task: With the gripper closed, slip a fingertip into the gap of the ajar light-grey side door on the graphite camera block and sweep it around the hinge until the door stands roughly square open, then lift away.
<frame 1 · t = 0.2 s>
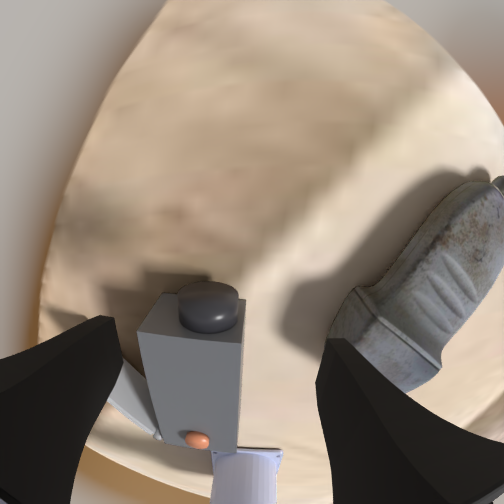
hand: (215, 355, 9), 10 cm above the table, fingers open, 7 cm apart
side door: (119, 383, 20), point 2 cm above the table, hinge at 40.0°
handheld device: (429, 267, 19), on the table
camera body: (205, 361, 21), on the table
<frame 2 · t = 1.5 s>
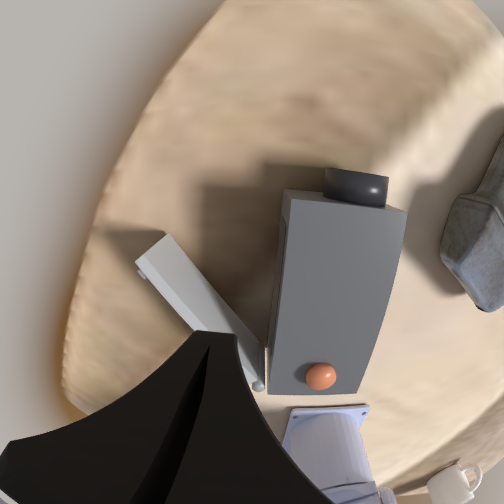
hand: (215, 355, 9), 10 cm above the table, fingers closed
side door: (208, 315, 17), point 3 cm above the table, hinge at 40.0°
mug: (449, 468, 32), on the table
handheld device: (503, 189, 17), on the table
camera body: (317, 280, 19), on the table
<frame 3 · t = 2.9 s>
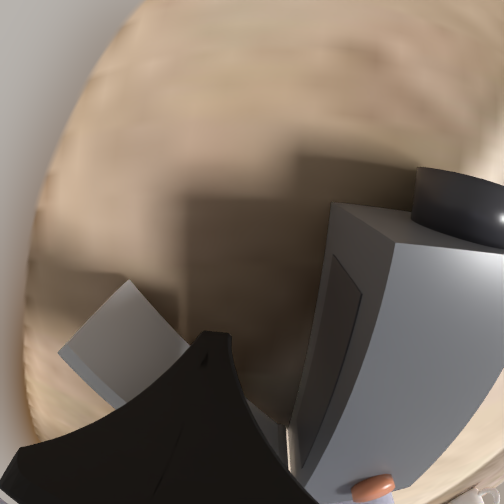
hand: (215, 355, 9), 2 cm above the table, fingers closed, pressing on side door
side door: (202, 414, 9), point 2 cm above the table, hinge at 40.3°, touching gripper
mug: (466, 492, 24), on the table
camera body: (372, 346, 11), on the table
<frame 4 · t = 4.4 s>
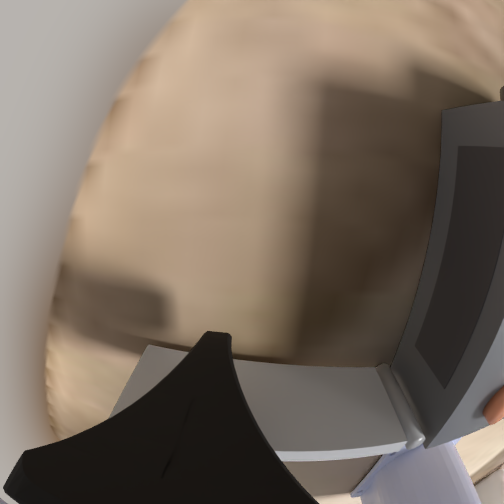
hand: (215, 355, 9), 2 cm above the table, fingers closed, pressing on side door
side door: (277, 409, 9), point 2 cm above the table, hinge at 86.3°, touching gripper
mug: (492, 473, 23), on the table
camera body: (472, 260, 10), on the table
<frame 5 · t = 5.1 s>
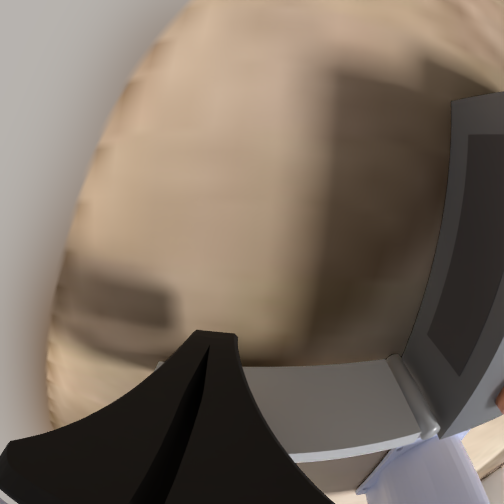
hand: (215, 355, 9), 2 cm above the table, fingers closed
side door: (288, 412, 9), point 3 cm above the table, hinge at 94.5°
mug: (494, 472, 23), on the table
camera body: (481, 250, 10), on the table
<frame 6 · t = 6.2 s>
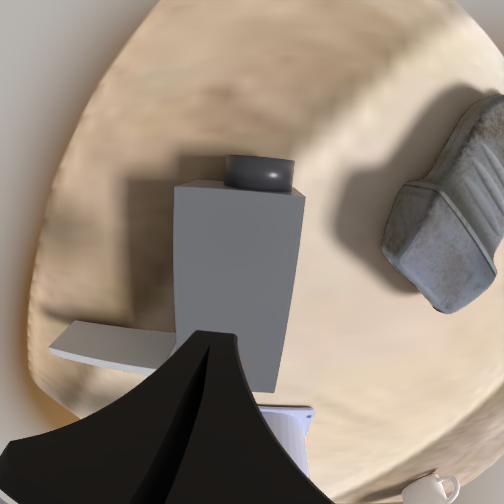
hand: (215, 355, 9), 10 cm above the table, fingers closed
side door: (117, 348, 19), point 2 cm above the table, hinge at 94.6°
mug: (426, 477, 32), on the table
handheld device: (466, 175, 17), on the table
camera body: (238, 272, 19), on the table
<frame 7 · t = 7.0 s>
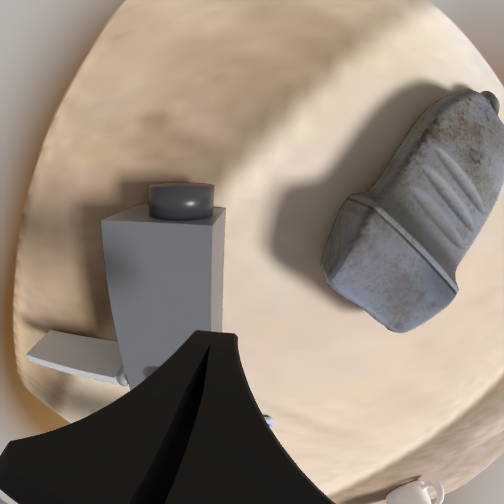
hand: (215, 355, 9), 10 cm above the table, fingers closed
side door: (83, 356, 19), point 3 cm above the table, hinge at 94.6°
mug: (411, 483, 33), on the table
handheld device: (427, 182, 17), on the table
camera body: (181, 289, 20), on the table
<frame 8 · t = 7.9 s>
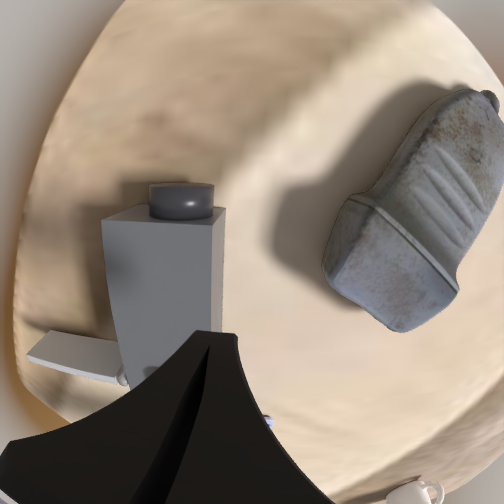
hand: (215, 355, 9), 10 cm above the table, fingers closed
side door: (83, 356, 19), point 2 cm above the table, hinge at 94.6°
mug: (411, 483, 33), on the table
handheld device: (428, 182, 17), on the table
camera body: (181, 289, 20), on the table
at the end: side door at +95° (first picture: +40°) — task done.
